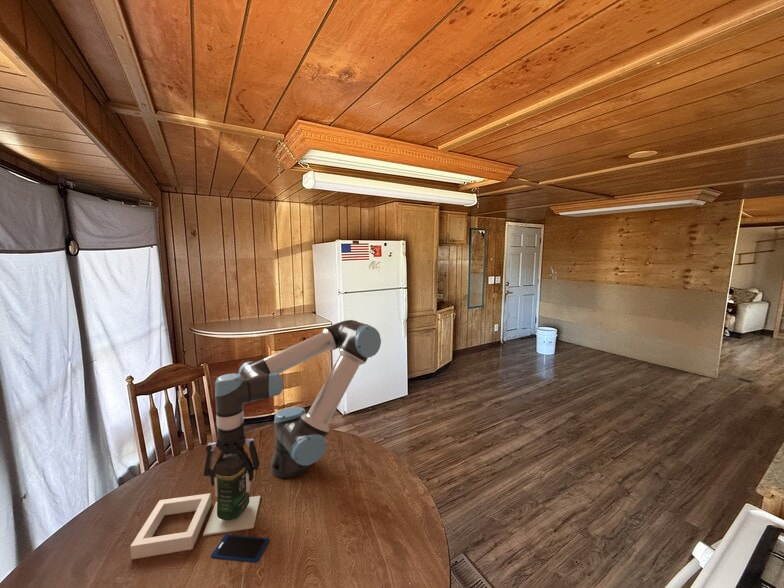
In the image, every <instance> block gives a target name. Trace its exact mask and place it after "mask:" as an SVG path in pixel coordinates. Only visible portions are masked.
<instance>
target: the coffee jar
mask: <svg viewBox="0 0 784 588" xmlns="http://www.w3.org/2000/svg"><path fill="white" fill-rule="evenodd" d="M245 452H246V454H247V455H248V452H247V450H245ZM248 456H249V455H248ZM215 464H216V463H215ZM246 471H247V469H246V467H245V465H244V461H242V460H241V459H240V457H239V456H237V454H228V455H225V454H224V456H223V459H222V461H221V462H219V463H217V464H216V477H217V481H218V497H216V498H217V500H216V502H217V516H218V518H220V519H222V520H233V519H236V518H238V517H239V516H240V515H241V514H242V512H243V511H244V510H245V509H246V507H247V506H248V504H249V501H250V500H249V497H250V491H249V492H247V493H246Z"/></svg>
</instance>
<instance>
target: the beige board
mask: <svg viewBox="0 0 784 588" xmlns="http://www.w3.org/2000/svg"><path fill="white" fill-rule="evenodd" d="M261 497H262V496H261V495H256V496H249V500H250V501H249V504H248V506H247V507H246V509H245V510H244V511H243V512H242V514H241V515H240V516H239V517H238V518H236V519H233V520H222V519H220V518H218V516H217V501H216V502H215V503H214V506H213V509H212V512H211V514H210V516H209V519H208V521H207V523H206V526H205V529H204V531H203V534H202V536H203V537H207V536H213V535H218V534H220V535H221V534H224V533H225V534H226V533H230V532H231V533H232V532H236V531H237V532H239V531H242V530H243V531H244V530H248V529H249V530H250V529H254V528H255V523H256V519H257V514H258V511H259V506H260V501H261Z"/></svg>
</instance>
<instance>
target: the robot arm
mask: <svg viewBox="0 0 784 588" xmlns="http://www.w3.org/2000/svg"><path fill="white" fill-rule="evenodd" d="M381 344H382V338H381V334H380V332H379V331H378V329H376V327H374V326H372V325H369V324H367V323H363V322H359V321H357V320H354V319H347V320H343V321H340V322H337V323H334V324H332V325H330V326H328V327H324V328H323V329H322V332H320V333H318V334H316V335H315V334H314V336H311V337H309V338H307V339H305V340H302V341H301V342H297V343H295V344H294V345H292V346H289V347H287V348H284V349H283V350H281V351H278V352H275V353H274V354H271V355H269V356H267V357H265V358H262V359H260V360H258V361H246V362H243V363H242V365H241V366H240V367H239V369H238V373H226V374H223V375H220V376H219V377H217V378H216V380H215V382H214V384H215V388H214V397H215V412H216V414H215V418H216V435H217V436H216V437H217V438H216V439H217V440H216V441H215V442H213V441H208V442H207V444H206V447H205V449H206V459H205V464H204V470H203V476H204V477H210V485H211V487H214V497H216V498H218V481H217V477H216V464H217V463H219V462H221V461H222V459H223V457H224V456H225V455H228V454H237V456H239V457H240V459H241V460H242V461H244V465H245V467H246V469H247V471H246V493H247V492H249V493H250V489H251V485H252V484H251V482H252V481H253V479H254V477H255V475H254V471H257V470H259V467H260V460H259V456H258V451H257V448H256V443H255V442H256V438H255V437H254V436H253V437H251V438H247V437H246V436H245V423H244V421H245V419H244V417H245V416H244V415H245V414H244V404H248V403H251V402H252V403H253V402H256V401H259V400H265V399H269V398H270V399H272V397H277V396H280V394H281V393H282V392H283V388H284V387H283V385H284V384H283V379H282V376H281V374H282V373H283V372H285V371H287V370H290V369H292V368H294V367H296V366H298V365H300V364H302V363H305V362H307V361H308V360H310V359H312V358H314V357H316V356H319V355H322V354H323V353H324V352H327V351H330V350H331V351H335V350H337V349H338V350H339V351H338V352H339V356H338V358H337V360H336V361H335V363H334V365H333V367H332V369H331V370H330V372H329V375H327V377H326V379H325V381H324V383H323V385H322V387H321V388H320V390H319V392H318V394H317V395H316V398H315V399H314V401H313V402H312V405H311V406H310V408H309V410H308V411H307V412H306V409H305V408H304V407H301V406H292V407H291V406H289V407H286V408H282V409H280V410H278V412H276V413H275V414H274V421H273V424H274V452H273V455H272V458H271V461H270V471H271V474H272V475H274V476H275V477H276V478H281V479H288V478H289V479H290V478H295V477H298V476H300V475H302V474H304V473H305V472H307V470H308V469H309V468H310V466H311V465H312V464H314V463H317V462H318V461H319V460H321V458H322V457H323V456H324V455H325V453H326V450H327V446H328V444H327V439H326V437H327V435H328V433H329V432H330V428H329V423H330V421H331V419H332V418H333V416H334V414H335V412H336V410H337V408H338V406H339V405H340V403H341V402H342V401H341V400H342V399H343V397H344V395H345V393H346V392H347V390H348V388H349V386H350V384H351V383H352V380H353V379H354V377H355V375H356V372H357V371H358V369H359V367H360V366H361V365H363V364H366V362H367V361H368V359H369V358H372V357H374V356H376V354H378V352H379V350H380V348H381ZM245 444H246V445H247V448H248V450H249V454H250V456H249V455H247V454H248V453H247V454H246V452H247V451H246V450H245V448H244V445H245ZM216 448H217V449H218V450H219V451H220V453H219V456H218V458H217V460H216V462H215V464H214V467H213V469H212V468H211V467H212V462H213V456H214V451H215V449H216ZM245 451H246V452H245Z"/></svg>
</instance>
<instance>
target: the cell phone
mask: <svg viewBox="0 0 784 588" xmlns="http://www.w3.org/2000/svg"><path fill="white" fill-rule="evenodd" d="M269 542H270V539H269V538H267V537H259V536H247V535H237V534H236V535H235V534H225V535H224V536H223V537H222V539H221V540H220V542H219V543H218V545H217V546H216V547H215V549H214V550H213V552H212V553H211V554H210V558H211V559H218V560H224V561H225V560H227V561H236V562H244V563H255V564H256V563H258V562H259V561H260V560H261V557H262V556H263V554H264V553H265V550H266V549H267V546H268V544H269Z"/></svg>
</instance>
